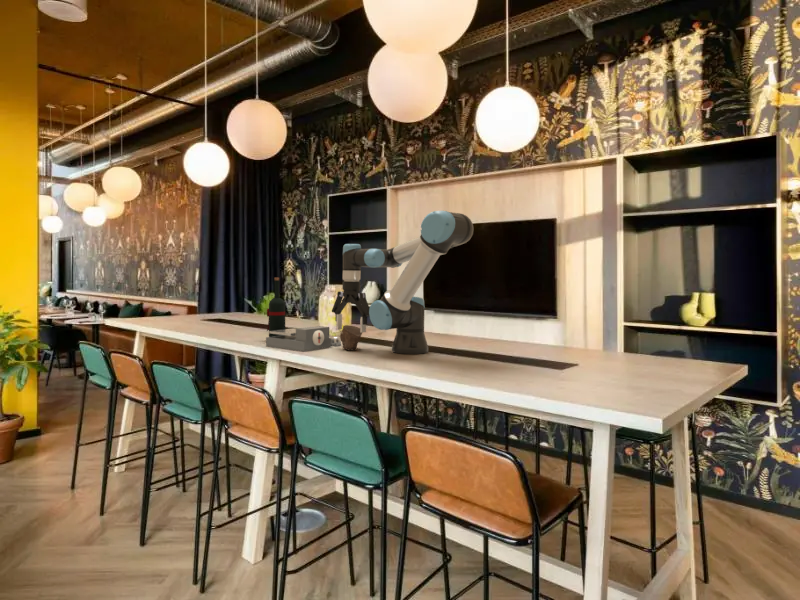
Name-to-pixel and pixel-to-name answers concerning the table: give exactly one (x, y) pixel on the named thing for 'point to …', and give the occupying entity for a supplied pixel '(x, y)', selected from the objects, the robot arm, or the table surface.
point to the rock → (350, 337)
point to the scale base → (302, 339)
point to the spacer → (335, 341)
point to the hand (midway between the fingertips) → (350, 330)
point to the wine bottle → (276, 312)
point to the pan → (284, 332)
